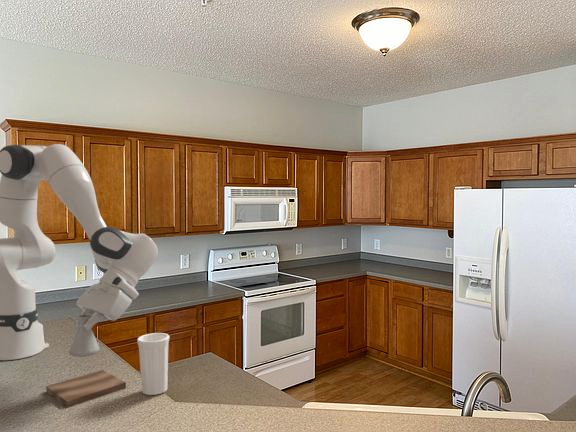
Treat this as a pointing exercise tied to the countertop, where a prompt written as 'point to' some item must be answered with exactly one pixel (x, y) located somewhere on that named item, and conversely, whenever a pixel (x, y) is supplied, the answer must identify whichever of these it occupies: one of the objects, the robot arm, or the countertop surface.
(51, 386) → the walnut board
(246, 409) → the countertop surface
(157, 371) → the cup
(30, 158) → the robot arm
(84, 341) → the flask
